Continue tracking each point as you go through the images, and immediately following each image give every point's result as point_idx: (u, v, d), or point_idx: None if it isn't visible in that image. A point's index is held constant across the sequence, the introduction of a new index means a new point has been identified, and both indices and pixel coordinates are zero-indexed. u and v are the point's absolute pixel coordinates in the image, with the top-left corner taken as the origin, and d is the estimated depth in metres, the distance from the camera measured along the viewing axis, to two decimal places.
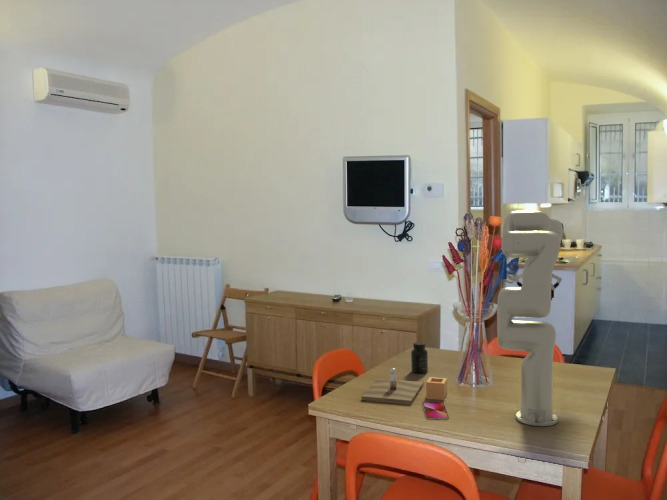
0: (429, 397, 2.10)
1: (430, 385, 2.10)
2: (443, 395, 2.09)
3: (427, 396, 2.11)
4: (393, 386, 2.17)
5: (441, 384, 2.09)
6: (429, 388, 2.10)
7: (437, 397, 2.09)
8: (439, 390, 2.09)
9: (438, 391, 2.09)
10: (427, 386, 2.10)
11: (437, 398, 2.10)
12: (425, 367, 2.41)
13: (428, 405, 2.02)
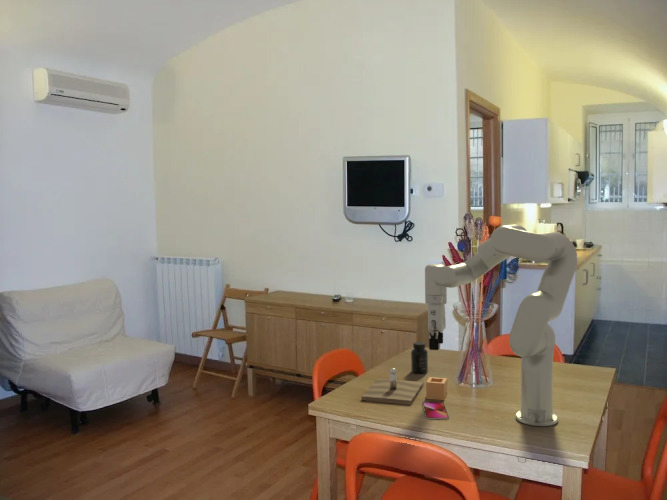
0: (429, 397, 2.10)
1: (430, 385, 2.10)
2: (443, 395, 2.09)
3: (427, 396, 2.11)
4: (393, 386, 2.17)
5: (441, 384, 2.09)
6: (429, 388, 2.10)
7: (437, 397, 2.09)
8: (439, 390, 2.09)
9: (438, 391, 2.09)
10: (427, 386, 2.10)
11: (437, 398, 2.10)
12: (425, 367, 2.41)
13: (428, 405, 2.02)
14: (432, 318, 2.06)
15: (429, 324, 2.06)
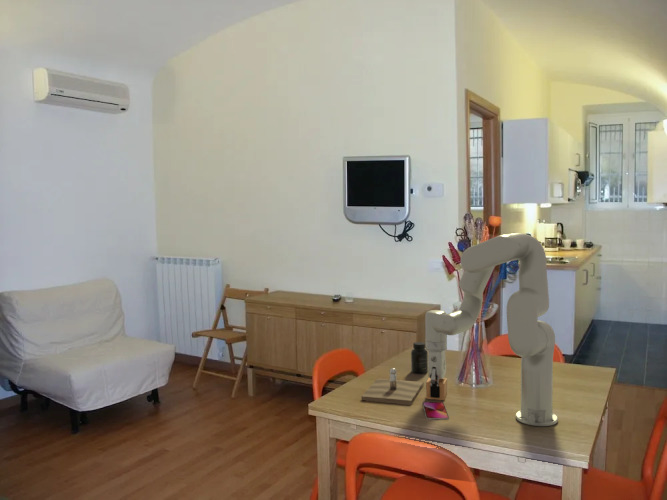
0: (429, 397, 2.10)
1: (430, 385, 2.10)
2: (443, 395, 2.09)
3: (427, 396, 2.11)
4: (393, 386, 2.17)
5: (441, 384, 2.09)
6: (429, 388, 2.10)
7: None
8: None
9: None
10: (427, 386, 2.10)
11: (436, 398, 2.10)
12: (425, 367, 2.41)
13: (428, 405, 2.02)
14: (432, 365, 2.07)
15: (430, 371, 2.08)
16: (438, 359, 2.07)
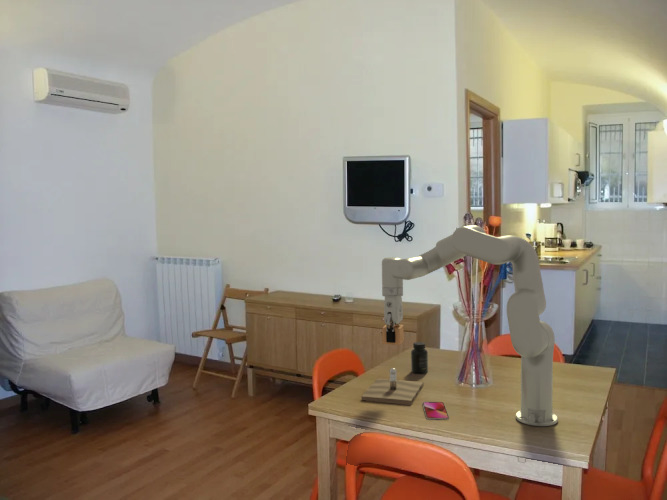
0: (385, 342, 2.14)
1: None
2: (398, 340, 2.12)
3: (383, 341, 2.14)
4: (393, 386, 2.17)
5: (396, 329, 2.12)
6: (385, 333, 2.14)
7: None
8: (395, 335, 2.13)
9: None
10: (383, 331, 2.14)
11: (392, 343, 2.13)
12: (425, 367, 2.41)
13: (428, 405, 2.02)
14: (388, 310, 2.11)
15: (385, 316, 2.11)
16: (393, 304, 2.10)
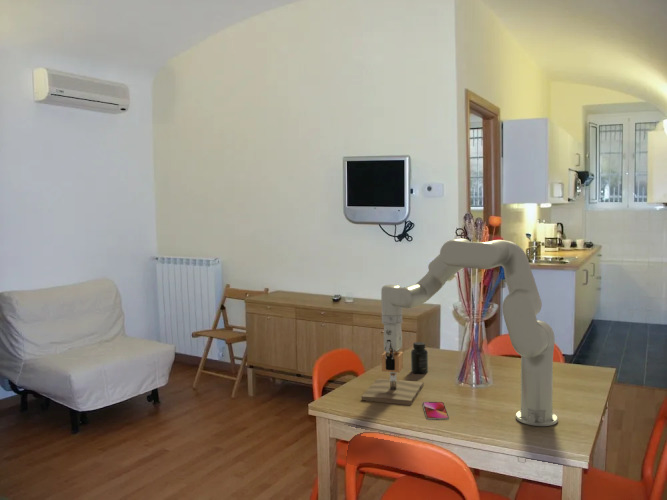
0: (384, 370, 2.15)
1: (385, 358, 2.15)
2: (398, 367, 2.13)
3: (382, 369, 2.15)
4: (393, 386, 2.17)
5: (396, 357, 2.13)
6: (384, 361, 2.15)
7: None
8: None
9: None
10: (382, 359, 2.15)
11: (391, 370, 2.14)
12: (425, 367, 2.41)
13: (428, 405, 2.02)
14: (387, 338, 2.12)
15: (385, 344, 2.12)
16: (393, 332, 2.11)
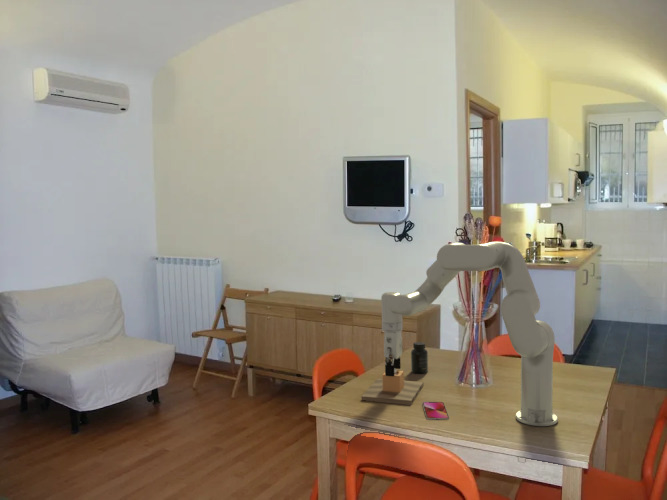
0: (385, 389, 2.16)
1: (386, 378, 2.15)
2: (398, 387, 2.14)
3: (383, 388, 2.16)
4: None
5: (397, 376, 2.14)
6: (385, 380, 2.15)
7: (393, 389, 2.15)
8: (395, 382, 2.14)
9: (394, 383, 2.14)
10: (383, 378, 2.16)
11: (392, 390, 2.15)
12: (425, 367, 2.41)
13: (428, 405, 2.02)
14: (388, 345, 2.12)
15: (385, 351, 2.13)
16: (393, 339, 2.11)
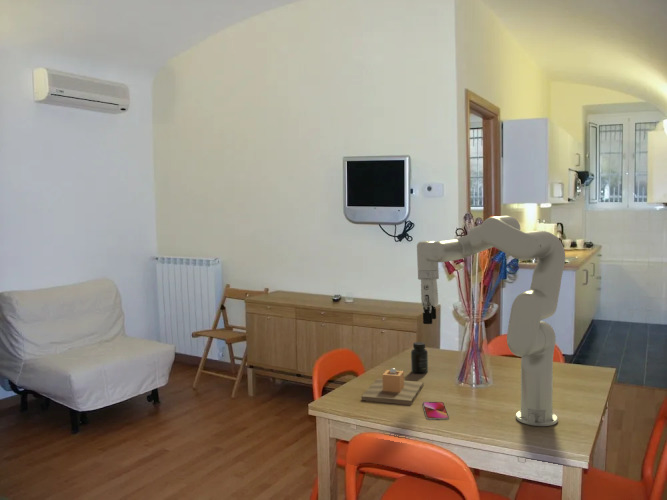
0: (385, 389, 2.16)
1: (386, 378, 2.15)
2: (398, 387, 2.14)
3: (383, 388, 2.16)
4: None
5: (397, 376, 2.14)
6: (385, 380, 2.15)
7: (393, 389, 2.15)
8: (395, 382, 2.14)
9: (394, 383, 2.14)
10: (383, 378, 2.16)
11: (392, 390, 2.15)
12: (425, 367, 2.41)
13: (428, 405, 2.02)
14: (425, 293, 2.12)
15: (422, 299, 2.12)
16: (430, 287, 2.11)
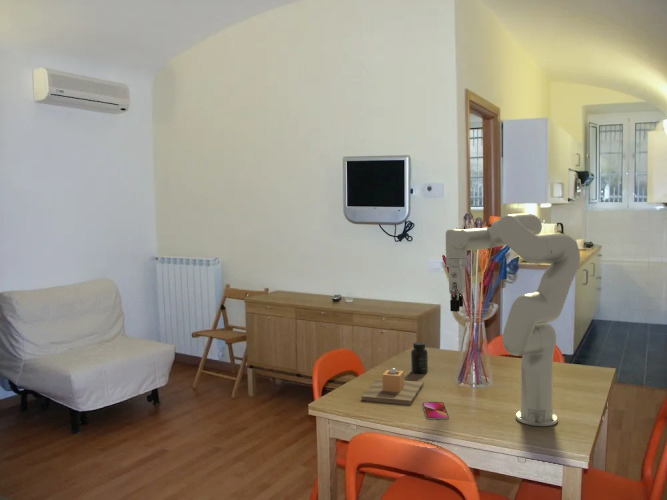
0: (385, 389, 2.16)
1: (386, 378, 2.15)
2: (398, 387, 2.14)
3: (383, 388, 2.16)
4: None
5: (397, 376, 2.14)
6: (385, 380, 2.15)
7: (393, 389, 2.15)
8: (395, 382, 2.14)
9: (394, 383, 2.14)
10: (383, 378, 2.16)
11: (392, 390, 2.15)
12: (425, 367, 2.41)
13: (428, 405, 2.02)
14: (453, 280, 2.12)
15: (450, 286, 2.13)
16: (458, 274, 2.12)
